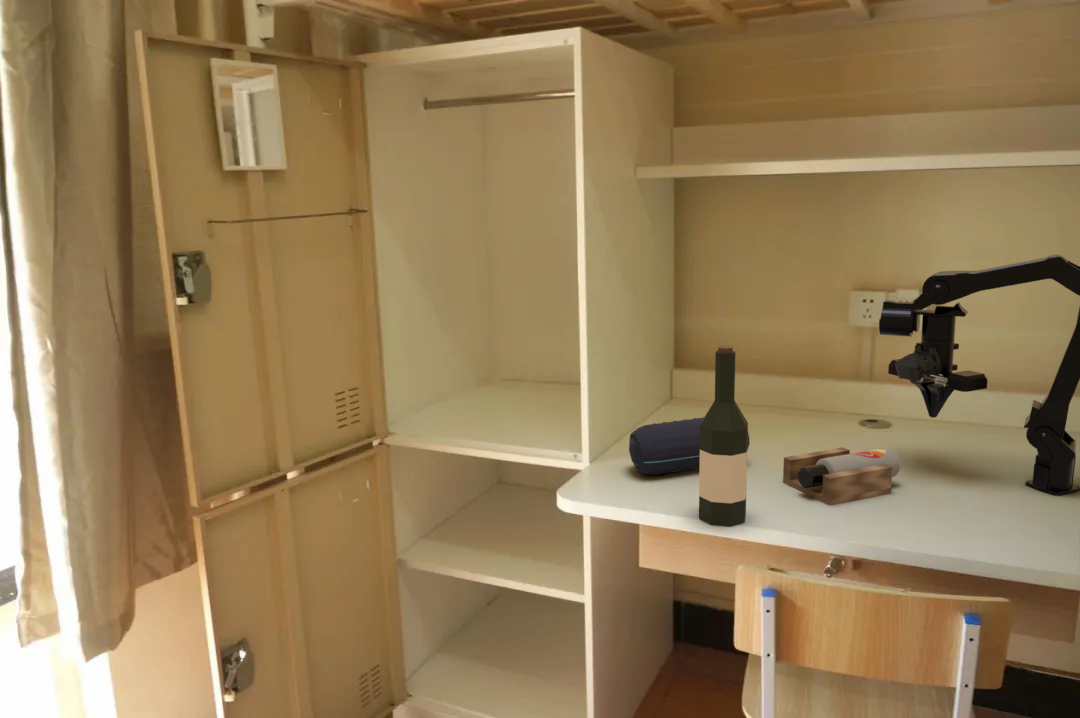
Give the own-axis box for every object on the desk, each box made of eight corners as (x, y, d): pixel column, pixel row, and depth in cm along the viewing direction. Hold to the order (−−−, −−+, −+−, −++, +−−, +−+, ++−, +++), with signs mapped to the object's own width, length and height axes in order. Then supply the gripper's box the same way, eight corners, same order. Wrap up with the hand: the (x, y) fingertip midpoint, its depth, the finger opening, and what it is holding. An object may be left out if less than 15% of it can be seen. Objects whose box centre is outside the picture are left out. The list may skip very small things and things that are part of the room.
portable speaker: (727, 453, 177) (728, 408, 175) (754, 467, 168) (755, 419, 166) (620, 468, 169) (620, 421, 167) (641, 484, 160) (641, 434, 158)
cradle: (841, 471, 164) (842, 447, 163) (890, 492, 152) (892, 467, 151) (782, 482, 159) (783, 457, 158) (829, 505, 147) (830, 478, 146)
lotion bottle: (878, 444, 159) (792, 459, 152) (901, 451, 154) (813, 466, 147) (878, 473, 160) (792, 488, 153) (900, 480, 154) (812, 497, 148)
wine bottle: (712, 504, 149) (714, 340, 143) (755, 515, 144) (760, 345, 137) (689, 519, 142) (690, 348, 136) (733, 530, 137) (737, 353, 131)
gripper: (868, 335, 163) (865, 411, 167) (946, 350, 146) (941, 435, 150) (911, 329, 168) (907, 404, 171) (992, 344, 151) (986, 426, 154)
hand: (932, 417), depth 161 cm, fingers closed
